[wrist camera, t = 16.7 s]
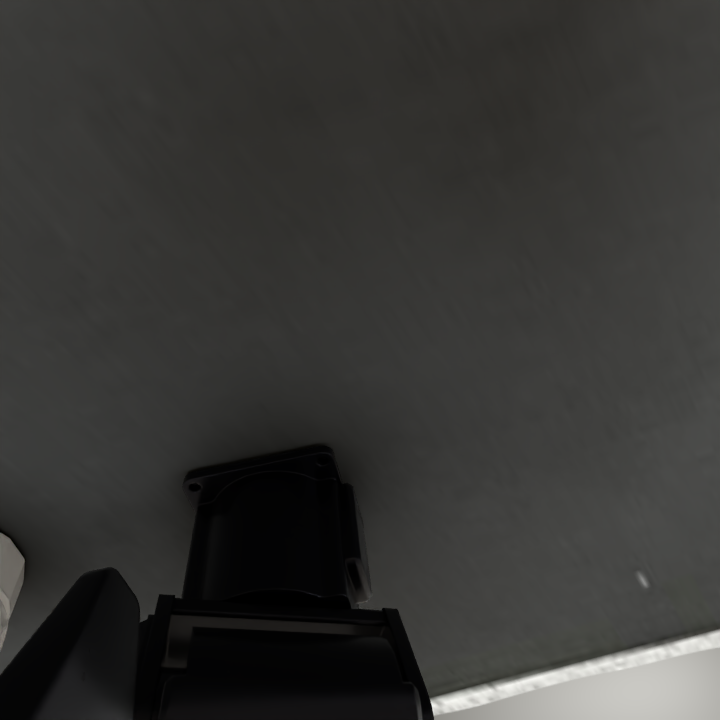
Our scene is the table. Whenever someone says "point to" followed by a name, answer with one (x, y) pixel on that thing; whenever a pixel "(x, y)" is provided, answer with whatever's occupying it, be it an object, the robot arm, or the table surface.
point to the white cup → (9, 581)
